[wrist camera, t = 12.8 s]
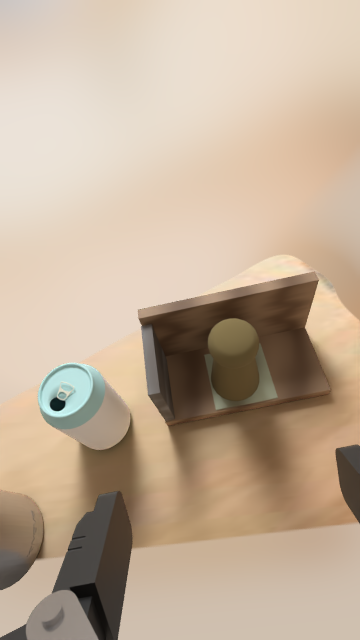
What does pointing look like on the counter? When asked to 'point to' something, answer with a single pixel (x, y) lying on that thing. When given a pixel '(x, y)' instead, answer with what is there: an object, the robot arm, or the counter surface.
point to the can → (83, 406)
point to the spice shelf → (196, 362)
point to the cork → (234, 359)
